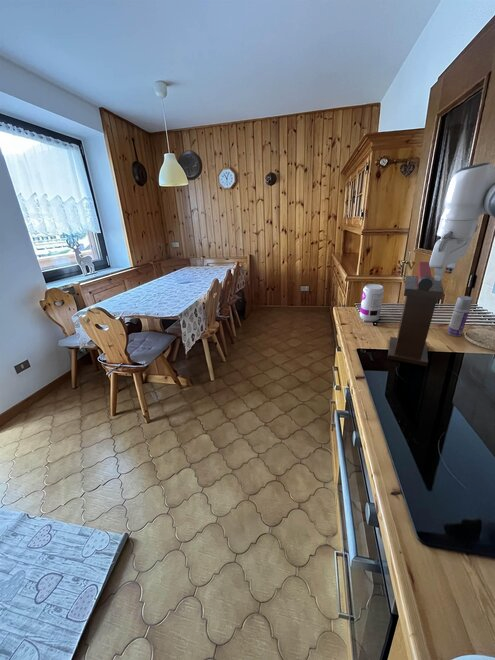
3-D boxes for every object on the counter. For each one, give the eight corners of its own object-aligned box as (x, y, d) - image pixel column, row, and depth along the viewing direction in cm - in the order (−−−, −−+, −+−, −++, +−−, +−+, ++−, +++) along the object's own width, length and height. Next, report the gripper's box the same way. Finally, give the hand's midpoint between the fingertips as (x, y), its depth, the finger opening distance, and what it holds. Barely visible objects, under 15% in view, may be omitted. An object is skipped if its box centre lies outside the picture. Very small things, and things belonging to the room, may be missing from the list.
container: (457, 330, 113) (468, 295, 106) (463, 336, 109) (476, 300, 102) (444, 330, 113) (455, 295, 106) (450, 336, 109) (462, 300, 102)
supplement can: (358, 320, 126) (362, 288, 119) (361, 313, 132) (365, 282, 125) (377, 323, 122) (383, 290, 116) (379, 315, 129) (385, 284, 122)
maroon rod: (416, 269, 102) (418, 259, 100) (428, 270, 100) (430, 260, 99) (417, 289, 85) (419, 278, 83) (431, 290, 83) (434, 279, 82)
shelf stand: (389, 340, 110) (402, 275, 98) (425, 346, 104) (444, 278, 92) (387, 358, 99) (401, 288, 87) (426, 366, 94) (448, 292, 81)
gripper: (456, 236, 73) (442, 287, 79) (479, 225, 84) (466, 270, 90) (429, 234, 77) (418, 282, 83) (455, 224, 88) (443, 267, 95)
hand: (443, 276), depth 87 cm, fingers open, 8 cm apart
